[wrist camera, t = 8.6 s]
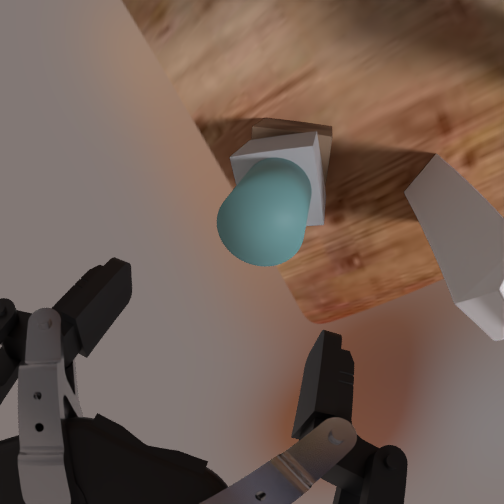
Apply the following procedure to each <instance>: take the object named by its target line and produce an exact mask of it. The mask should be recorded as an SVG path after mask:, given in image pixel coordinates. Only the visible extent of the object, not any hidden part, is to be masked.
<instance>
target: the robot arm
mask: <svg viewBox="0 0 504 504" xmlns="http://www.w3.org/2000/svg"><path fill="white" fill-rule="evenodd" d="M131 295H132V278H131V265H130V263H127V262H125V261H122V260H120V259H117V258H115V257H114V258H112V259H110V260H109V261H108V262H107V263H106V264H105V265H104V266H101V265H98V266H96V267H94V268H92V269H90V270H89V271H88V272H87V273H86V274H84V276H82V277H81V279H79V281H77V283H76V284H75V286H73V287H72V288H71V289H70V290H69V291H68V292H67V293H66V294H65V295H64V296H63V297H62V298H61V299H60V300H59V301H58V302H57V303H56V304H55V305H54V307H52V308H42V309H39V310H37V311H35V312H34V313H33V314H32V313H27V312H22V311H18V310H16V308H15V305H14V304H13V302H12V301H11V300H9V299H5V298H3V299H0V344H1V345H2V347H1V348H0V404H1V403H2V401H3V400H4V398H5V397H6V395H7V394H8V392H9V391H10V389H11V388H12V386H13V385H14V383H15V382H16V380H17V379H18V423H19V435H18V436H15V437H11V438H8V439H5V440H2V441H0V504H292V503H293V502H294V501H295V500H297V499H298V498H299V497H301V496H302V495H303V494H304V493H305V492H307V491H308V490H309V489H310V488H311V486H312V485H313V484H314V483H315V482H316V481H317V480H319V479H320V478H322V479H323V480H325V481H327V482H329V483H331V484H333V485H335V486H337V487H336V492H335V496H334V501H333V504H404V496H405V488H406V477H407V458H406V456H405V454H404V452H403V451H402V450H401V449H400V448H398V447H396V446H393V445H386V446H383V447H381V448H378V447H376V446H374V445H372V444H370V443H368V442H366V441H364V440H363V439H361V438H360V437H359V436H358V435H357V434H356V431H355V428H354V427H353V425H352V421H351V417H352V402H353V383H354V377H353V375H354V361H353V358H352V356H351V354H350V351H347V350H343V349H341V343H342V336H341V335H339V334H336V333H333V332H329V331H326V330H323V331H322V332H321V333H320V335H319V337H318V339H317V341H316V342H315V344H314V346H313V348H312V350H311V351H310V353H309V356H308V358H307V361H306V364H305V368H304V375H303V380H302V385H301V391H300V396H299V401H298V407H297V413H296V417H295V422H294V427H293V432H292V438H296V439H299V441H298V442H297V443H296V444H294V445H293V446H292V447H290V448H289V449H288V450H286V451H285V452H283V453H282V454H280V455H277V456H276V457H274V458H273V459H271V460H270V461H268V462H267V463H265V464H264V465H262V466H261V467H260V468H258V469H256V470H255V471H253V472H252V473H250V474H249V475H247V476H246V477H244V478H242V479H241V480H239V481H238V482H236V483H234V484H233V485H231V486H229V487H228V486H227V485H226V483H225V482H224V481H223V480H222V479H221V478H220V477H219V476H218V475H217V474H216V473H214V472H213V471H212V470H210V469H209V468H207V467H206V465H207V463H208V461H205V460H202V459H199V458H196V457H194V456H191V455H188V454H186V453H183V452H180V451H176V450H169V449H163V448H158V447H152V446H148V445H146V444H144V443H143V442H141V441H140V440H139V439H138V438H136V437H135V436H134V435H132V434H131V433H130V432H129V431H128V430H126V429H125V428H124V427H123V426H121V425H119V424H117V423H115V422H113V421H111V420H109V419H107V418H105V417H104V416H102V415H100V414H98V413H97V415H96V416H95V418H94V419H92V418H86V417H83V415H82V410H81V407H80V404H79V399H78V390H77V380H76V367H75V359H74V358H75V357H76V355H77V354H78V353H79V354H81V355H83V356H84V357H88V356H89V354H90V353H91V352H92V350H93V349H94V347H95V346H96V345H97V343H98V342H99V341H100V339H101V338H102V337H103V335H104V334H105V333H106V331H107V330H108V329H109V327H110V326H111V325H112V324H113V322H114V321H115V320H116V318H117V317H118V316H119V314H120V313H121V312H122V311H123V309H124V308H125V307H126V305H127V304H128V303H129V300H130V298H131Z"/></svg>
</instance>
